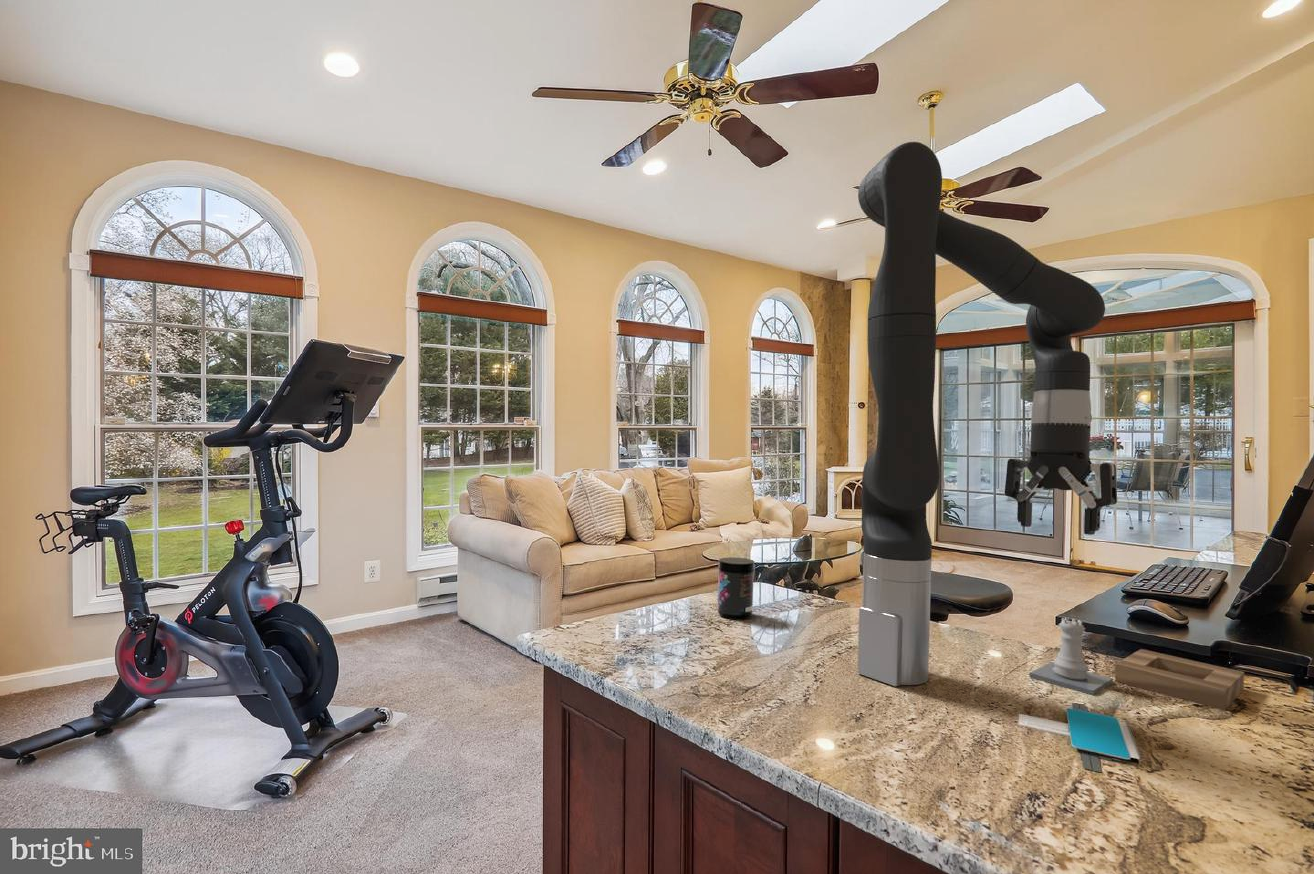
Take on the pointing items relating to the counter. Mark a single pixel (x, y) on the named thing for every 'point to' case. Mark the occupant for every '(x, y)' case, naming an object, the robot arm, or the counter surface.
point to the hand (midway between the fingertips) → (1056, 530)
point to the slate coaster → (1087, 686)
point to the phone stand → (1090, 735)
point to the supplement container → (735, 588)
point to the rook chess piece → (1071, 652)
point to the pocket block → (1181, 678)
